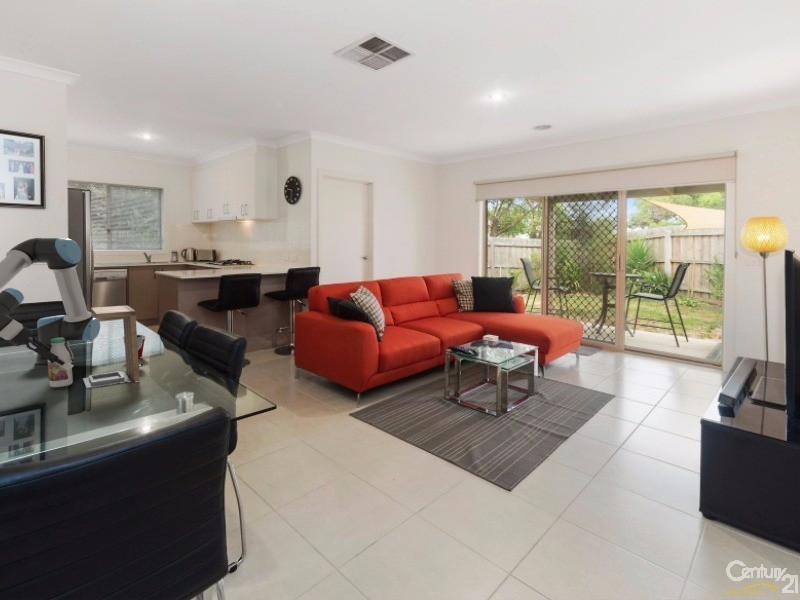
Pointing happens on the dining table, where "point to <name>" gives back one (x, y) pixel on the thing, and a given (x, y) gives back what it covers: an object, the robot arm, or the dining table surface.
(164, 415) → the dining table surface
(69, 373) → the milk bottle
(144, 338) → the plastic cup
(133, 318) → the overhang shelf
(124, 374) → the grey square tray
